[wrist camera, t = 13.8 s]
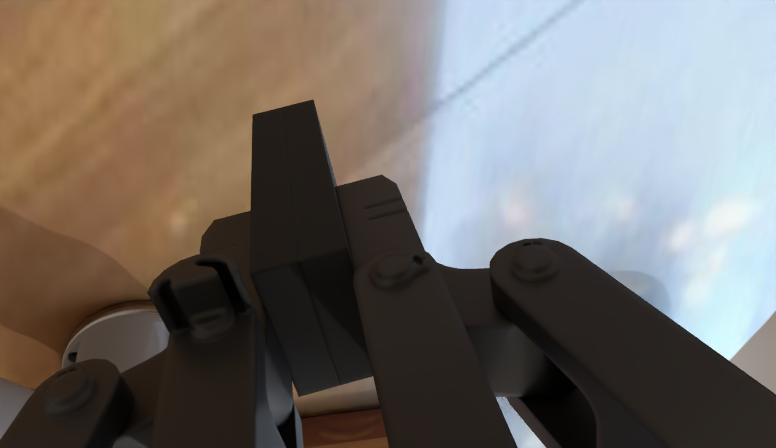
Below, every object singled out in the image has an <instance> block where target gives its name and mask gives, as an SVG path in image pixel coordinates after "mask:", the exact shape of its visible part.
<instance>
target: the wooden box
mask: <svg viewBox="0 0 776 448" xmlns="http://www.w3.org/2000/svg"><path fill="white" fill-rule="evenodd" d="M300 419H301V423H302V435H303V447H304V448H389V445H388V441H387V436H386V431H385V427H384V422H383V418H382V413H381V409H380V408H379V409H371V410H363V411H355V412H348V413H340V414H332V415H324V416H316V417H308V418H300Z"/></svg>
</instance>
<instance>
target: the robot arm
mask: <svg viewBox="0 0 776 448" xmlns="http://www.w3.org/2000/svg"><path fill="white" fill-rule="evenodd" d="M147 293H148V295H149V296H150V298H151V300H152V301H135V302H127V303H122V304H117V305H114V306H110V307H108V308H105V309H103V310H101V311H98V312H96V313H95V314H93V315H91V316H90V317H88V318H87V319H86V320H84V321H83V322H82V323H81V324H80V325H79V326H78V327H77V329H76V330H75V331H74V333H73V334H72V336H71V338H70V340H69V343H68V345H67V348H66V350H65V353H64V355H63V359H62V365H61V370H60V371H58V372H57V373H55V374H54V375H53V376H51V377H50V378H49V379H47V380H46V381H44V382H43V383H42V384H41V385H40V386H39V387H38V388H37V389H36V390H35V391H34V390H31V389H29V388H26V387H23V386H21V385H18V384H16V383H13V382H10V381H8V380H5V379H3V378H0V448H304V447H303V435H302V423H301V419H300V416H299V413H298V411H297V408H296V406H295V403H294V401H293V392H292V381H293V384H294V386H295V389H296V391H297V393H298V396H299V397H300V396H303V395H307V394H311V393H314V392H318V391H321V390H325V389H328V388H332V387H336V386H339V385H343V384H346V383H350V382H354V381H357V380H361V379H364V378H368V377H371V376H373V377H374V381H375V386H376V390H377V395H378V400H379V404H380V409H381V413H382V418H383V422H384V427H385V431H386V436H387V441H388V445H389V448H517V445H516V443H515V441H514V438H513V436H512V434H511V432H510V429H509V427H508V425H507V422H506V420H505V418H504V416H503V413H502V411H501V409H500V406H499V404H498V402H497V400H496V397H507V399H508V401H509V403H510V405H511V406H512V407H513V408H514V410H515V411H516V412H517V413H518V414H519V416H520V417H521V418H522V419H523V420H524V422H525V423H526V424H527V425H528V426H529V428H530V429H531V430H532V431H533V432H534V433H535V435H536V436H537V437H538V438H539V439H540V441H541V442H542V443H543V444H544V445H545V447H546V448H776V394H774V393H773V392H771V391H770V390H769V389H767V388H766V387H765V386H763V385H762V384H760V383H759V382H758V381H756V380H755V379H753V378H752V377H751V376H749V375H748V374H746V373H745V372H744V371H742V370H741V369H740V368H738V367H737V366H735V365H734V364H732V363H731V362H730V361H728V360H727V359H726V358H724V357H723V356H722V355H720V354H719V353H717V352H716V351H715V350H713V349H712V348H710V347H709V346H708V345H706V344H705V343H703V342H702V341H701V340H699V339H698V338H697V337H695V336H694V335H692V334H691V333H690V332H688V331H687V330H685V329H684V328H683V327H681V326H680V325H678V324H677V323H676V322H674V321H673V320H672V319H670V318H669V317H667V316H666V315H665V314H663V313H662V312H660V311H659V310H658V309H656V308H655V307H653V306H652V305H651V304H649V303H648V302H647V301H645V300H644V299H642V298H641V297H640V296H638V295H637V294H635V293H634V292H633V291H631V290H630V289H628V288H627V287H626V286H624V285H623V284H622V283H620V282H619V281H617V280H616V279H615V278H613V277H612V276H610V275H609V274H608V273H606V272H605V271H603V270H602V269H601V268H599V267H598V266H597V265H595V264H594V263H592V262H591V261H590V260H588V259H587V258H585V257H584V256H583V255H581V254H580V253H579V252H577V251H576V250H574V249H573V248H571V247H569V246H567V245H565V244H563V243H561V242H559V241H555V240H549V239H543V238H537V239H523V240H520V241H517V242H513V243H510V244H508V245H506V246H505V247H503V248H502V249H500V250H499V251H497V252H496V253H495V255H494V256H493V258H492V259H491V261H490V268H484V269H457V268H452V267H447V266H444V265H442V264H439V263H437V262H436V261H435V260H434V259H433V257H432V256H431V255H430V254H429V253H427V252H426V251H425V250H424V247H423V245H422V243H421V240H420V238H419V236H418V233H417V231H416V229H415V226H414V224H413V222H412V219H411V217H410V215H409V212H408V211H407V208H406V205H405V203H404V201H403V199H402V196H401V194H400V191H399V189H398V187H397V184H396V183H394V182H393V181H391V180H389V179H388V178H386V177H384V176H383V175H379V176H375V177H371V178H367V179H363V180H360V181H356V182H352V183H348V184H344V185H340V186H337V184H336V181H335V177H334V173H333V170H332V166H331V162H330V159H329V155H328V151H327V148H326V144H325V140H324V137H323V133H322V129H321V126H320V122H319V118H318V115H317V111H316V107H315V104H314V100H309V101H305V102H301V103H297V104H294V105H290V106H286V107H282V108H278V109H274V110H270V111H266V112H262V113H258V114H254V115H253V124H252V171H251V211H248V212H244V213H240V214H236V215H232V216H229V217H225V218H221V219H217V220H214V221H213V222H212V224H211V225H210V226H209V228H208V229H207V230H206V232H205V233H204V235H203V236H202V240H201V247H200V254H198V255H195V256H192V257H189V258H186V259H184V260H181V261H179V262H177V263H176V264H174V265H172V266H171V267H169V268H167V269H166V270H164V271H163V272H162V273H161V274H160V275H159V276H158V277H157V278H156V279H155V280H154V281H153V283H152V285H151V286H150V288H149V290H148V292H147Z"/></svg>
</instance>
